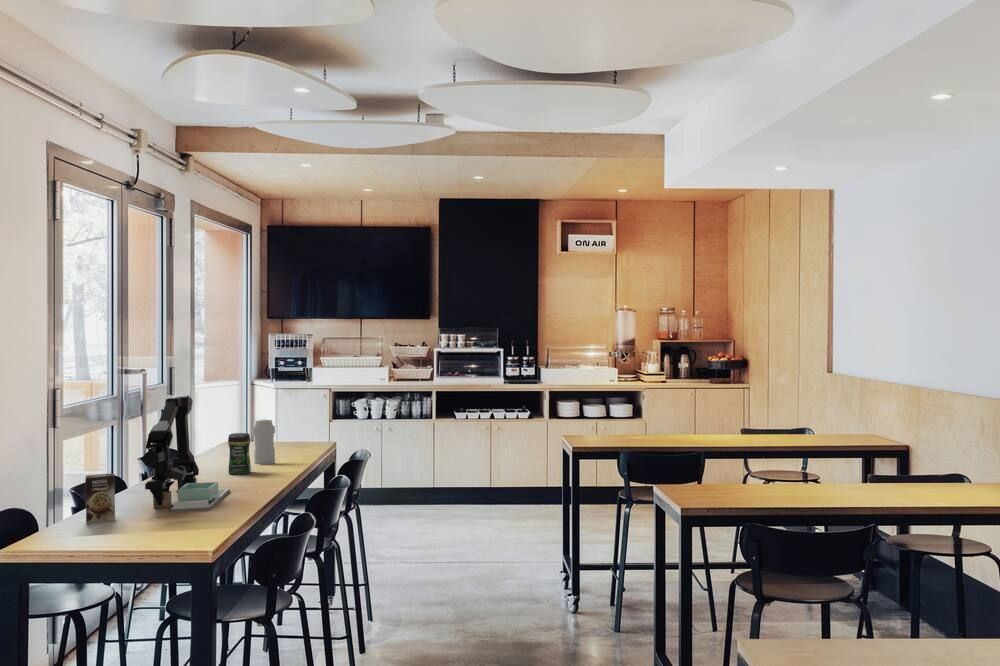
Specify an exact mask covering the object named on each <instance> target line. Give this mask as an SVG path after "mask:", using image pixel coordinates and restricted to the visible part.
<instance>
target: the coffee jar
mask: <svg viewBox="0 0 1000 666" xmlns="http://www.w3.org/2000/svg"><path fill="white" fill-rule="evenodd" d="M227 437H228V439H227V445H228V447H229V460H228V474H229V475H233V474H239V475H246V474H249V473H251V471H252V464H251V457H250V444H251V436H250V433H248V432H238V433H237V432H236V433H235V432H233V433H230V434H228V436H227Z"/></svg>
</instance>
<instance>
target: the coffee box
mask: <svg viewBox="0 0 1000 666" xmlns="http://www.w3.org/2000/svg"><path fill="white" fill-rule="evenodd" d="M84 480H85V524H86V525H93V524H99V523H102V524H103V523H109V522H116V504H115V503H116V502H115V501H116V497H115V494H116V492H115V490H116V488H115V486H116V485H115V473H114V472H111V473H102V474H90V475H89V474H88V475H85V479H84Z"/></svg>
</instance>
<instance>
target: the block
mask: <svg viewBox="0 0 1000 666" xmlns="http://www.w3.org/2000/svg"><path fill="white" fill-rule="evenodd" d="M152 503H153V506H152V507H153V509H157V508H160V509H161V508H169V507H170V506H171V505H172V503H173V502H172V491H171V490H169V491H164V492H163V500H162V505H158V503H157V501H156V499H155V498H154V496H153V495H152Z"/></svg>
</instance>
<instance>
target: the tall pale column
mask: <svg viewBox="0 0 1000 666" xmlns="http://www.w3.org/2000/svg"><path fill="white" fill-rule="evenodd" d="M272 421H273V420H272V419H267V418H266V419H265V418H263V419H257V420H255V422H254V425H253V427H252V435H253V439H254V441H253V442H254V449H253V457H254V458H253V459H254V460H253V461H254V464H266V465H275V464H276V457H275V456H276V453H275V452H276V449H275V445H274V441H275V439H274V437H275V434H276V427H275V425H274V424H273V422H272Z"/></svg>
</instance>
